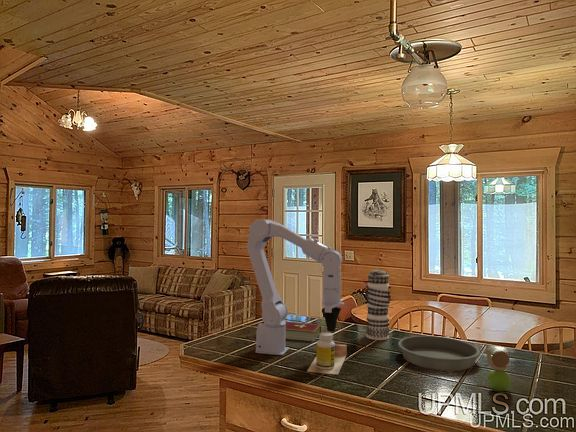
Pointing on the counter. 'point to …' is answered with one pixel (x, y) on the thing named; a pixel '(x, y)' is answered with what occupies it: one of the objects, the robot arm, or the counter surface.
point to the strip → (339, 359)
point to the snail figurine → (498, 370)
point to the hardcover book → (302, 331)
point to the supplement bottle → (325, 351)
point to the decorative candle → (377, 305)
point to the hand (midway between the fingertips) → (331, 330)
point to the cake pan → (438, 352)
